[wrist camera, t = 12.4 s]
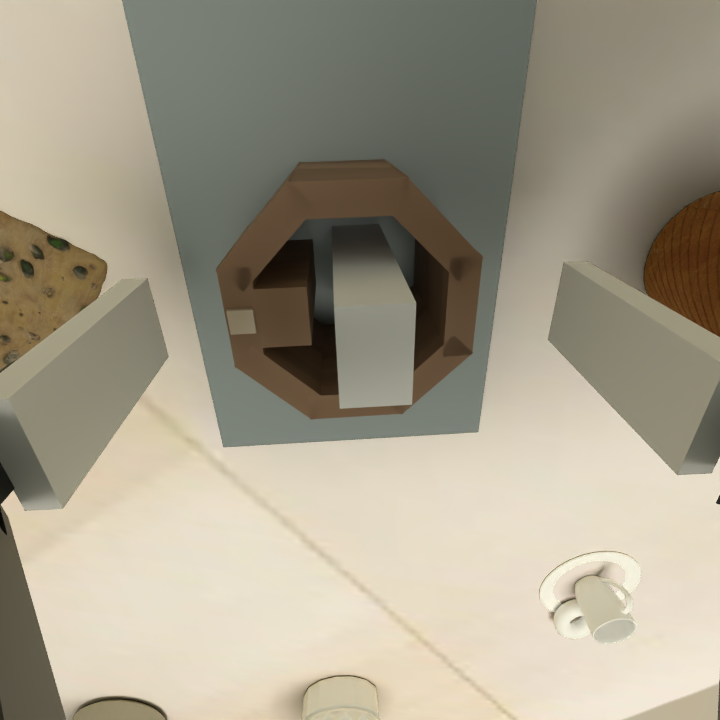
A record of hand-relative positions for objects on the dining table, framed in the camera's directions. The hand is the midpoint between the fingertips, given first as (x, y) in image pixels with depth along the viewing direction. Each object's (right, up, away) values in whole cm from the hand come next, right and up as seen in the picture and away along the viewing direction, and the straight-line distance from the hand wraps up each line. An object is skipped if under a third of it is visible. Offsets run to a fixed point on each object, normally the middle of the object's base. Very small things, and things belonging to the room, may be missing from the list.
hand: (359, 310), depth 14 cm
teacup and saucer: (+15, -20, +21) cm, 33 cm away
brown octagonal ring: (-1, +3, +5) cm, 6 cm away
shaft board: (-1, +3, +6) cm, 7 cm away
